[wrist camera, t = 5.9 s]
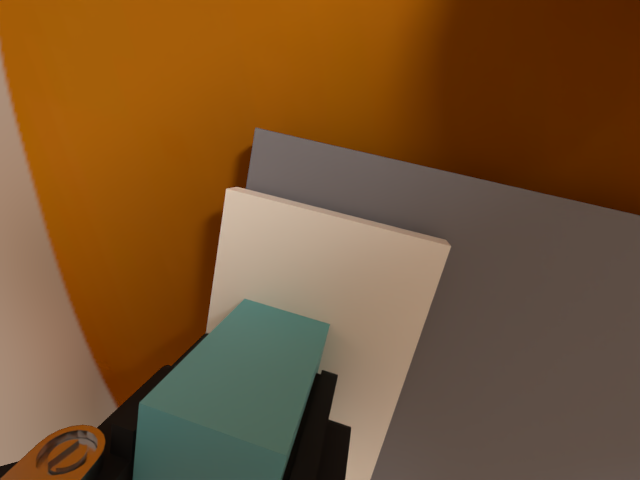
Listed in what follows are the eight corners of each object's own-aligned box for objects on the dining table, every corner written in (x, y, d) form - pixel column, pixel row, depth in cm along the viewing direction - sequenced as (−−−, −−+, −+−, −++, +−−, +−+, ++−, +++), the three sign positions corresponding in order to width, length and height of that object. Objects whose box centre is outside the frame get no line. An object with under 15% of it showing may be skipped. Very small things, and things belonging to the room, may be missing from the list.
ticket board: (1159, 334, 9) (1409, 391, 7) (803, 674, 13) (885, 775, 11) (270, 131, 12) (245, 125, 10) (214, 456, 17) (189, 501, 14)
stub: (445, 240, 10) (519, 334, 5) (352, 515, 13) (330, 765, 8) (236, 186, 11) (89, 212, 6) (196, 457, 14) (77, 645, 9)
